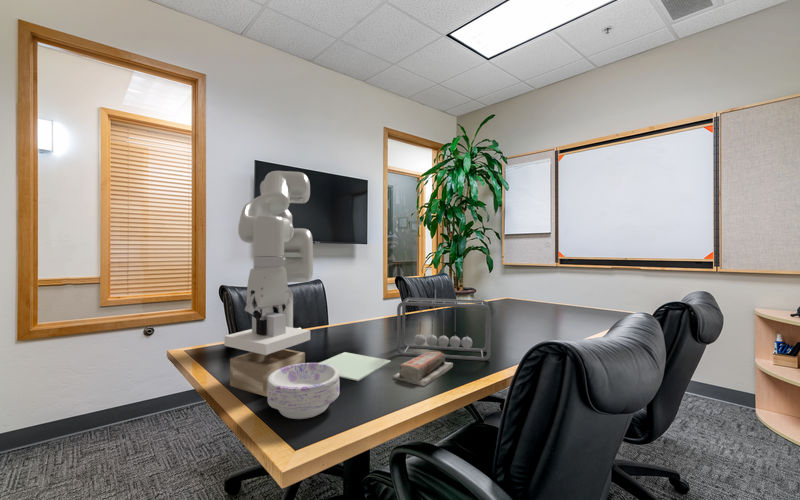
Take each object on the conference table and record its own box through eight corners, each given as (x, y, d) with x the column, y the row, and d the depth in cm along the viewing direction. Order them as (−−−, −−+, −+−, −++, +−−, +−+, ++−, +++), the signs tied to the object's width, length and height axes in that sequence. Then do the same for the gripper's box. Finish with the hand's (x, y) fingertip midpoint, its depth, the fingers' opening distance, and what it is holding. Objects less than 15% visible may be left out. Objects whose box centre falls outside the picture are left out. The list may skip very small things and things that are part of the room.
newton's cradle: (396, 355, 116) (396, 301, 116) (402, 346, 127) (402, 297, 127) (490, 361, 111) (491, 305, 111) (488, 352, 121) (488, 300, 121)
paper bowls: (276, 434, 67) (276, 393, 67) (260, 404, 80) (260, 369, 80) (350, 415, 75) (350, 377, 75) (325, 390, 88) (325, 358, 88)
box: (270, 370, 102) (270, 346, 101) (304, 378, 95) (304, 352, 95) (230, 386, 90) (230, 358, 90) (266, 396, 84) (266, 367, 84)
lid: (271, 332, 103) (271, 306, 103) (310, 339, 96) (310, 312, 96) (224, 345, 90) (224, 316, 90) (265, 355, 83) (266, 323, 83)
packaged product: (424, 369, 91) (392, 362, 96) (424, 388, 91) (392, 380, 96) (453, 352, 106) (424, 347, 111) (453, 368, 106) (424, 362, 111)
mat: (344, 353, 118) (344, 352, 118) (391, 361, 110) (391, 360, 110) (306, 369, 102) (306, 368, 102) (357, 381, 94) (357, 379, 94)
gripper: (282, 261, 102) (282, 324, 102) (230, 264, 87) (231, 338, 87) (302, 262, 98) (302, 327, 99) (251, 265, 83) (251, 342, 84)
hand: (268, 331), depth 93 cm, fingers closed on lid, 4 cm apart
